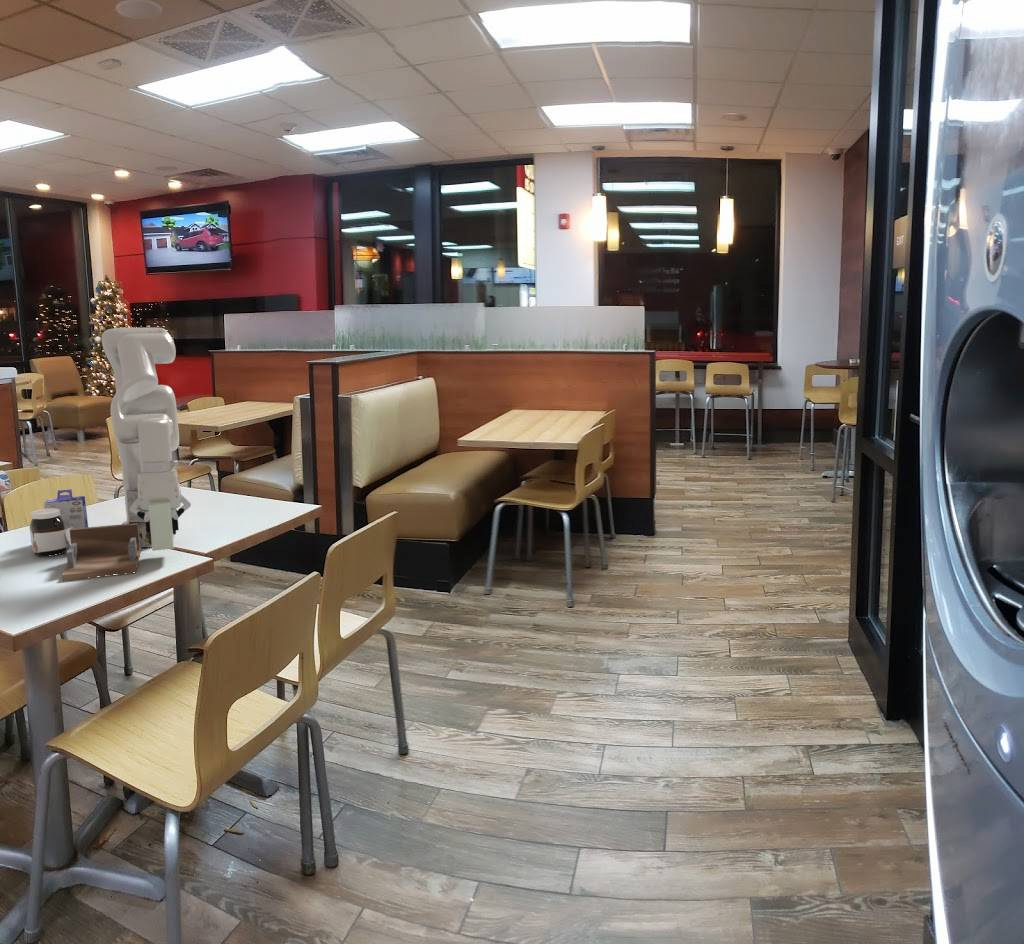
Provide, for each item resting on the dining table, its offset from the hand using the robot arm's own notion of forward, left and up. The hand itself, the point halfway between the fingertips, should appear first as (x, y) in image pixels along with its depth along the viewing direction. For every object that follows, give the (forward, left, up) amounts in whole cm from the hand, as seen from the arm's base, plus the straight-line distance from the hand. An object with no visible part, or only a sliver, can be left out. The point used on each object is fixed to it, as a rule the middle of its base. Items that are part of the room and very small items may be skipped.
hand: (162, 533), depth 211 cm
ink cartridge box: (-29, -26, -7) cm, 40 cm away
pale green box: (0, 0, -3) cm, 3 cm away
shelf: (+2, -14, -7) cm, 16 cm away
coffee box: (-17, -4, -7) cm, 19 cm away
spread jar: (-17, -27, -7) cm, 33 cm away
